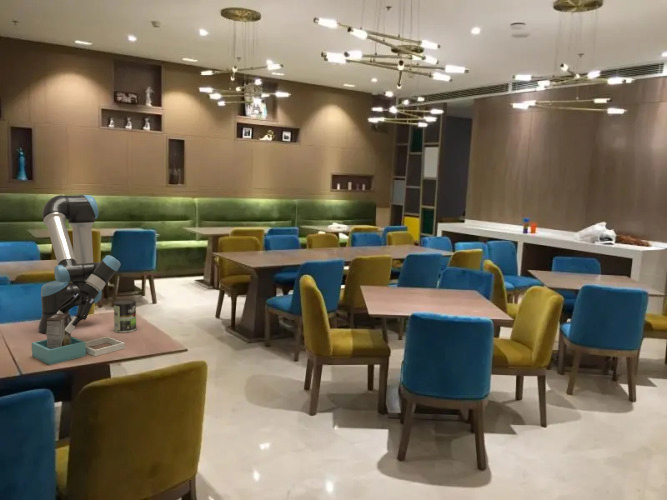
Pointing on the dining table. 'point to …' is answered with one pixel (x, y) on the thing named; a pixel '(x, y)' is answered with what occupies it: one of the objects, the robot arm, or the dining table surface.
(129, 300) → the coffee can
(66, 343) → the coffee box
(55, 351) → the bin
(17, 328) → the dining table surface
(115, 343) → the collar
